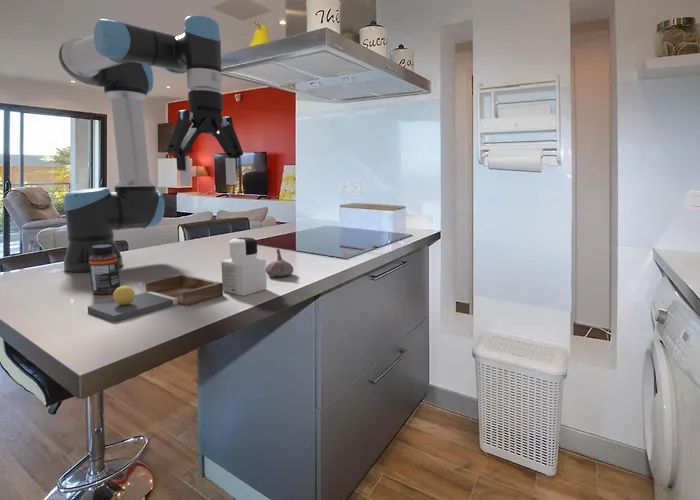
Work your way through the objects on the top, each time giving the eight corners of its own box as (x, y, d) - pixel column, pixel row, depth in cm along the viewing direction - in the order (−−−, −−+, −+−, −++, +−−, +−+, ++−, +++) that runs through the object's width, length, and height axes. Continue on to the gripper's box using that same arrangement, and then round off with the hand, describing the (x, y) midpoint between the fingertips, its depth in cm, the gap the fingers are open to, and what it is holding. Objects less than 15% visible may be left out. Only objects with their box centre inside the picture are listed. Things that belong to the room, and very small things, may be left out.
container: (246, 284, 110) (244, 235, 107) (267, 289, 105) (266, 238, 103) (221, 291, 103) (219, 238, 101) (243, 296, 99) (241, 242, 97)
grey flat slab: (88, 312, 87) (87, 306, 87) (151, 296, 99) (150, 291, 98) (114, 321, 82) (113, 315, 82) (177, 303, 93) (177, 298, 93)
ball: (110, 305, 88) (108, 286, 87) (128, 300, 91) (127, 282, 90) (120, 309, 86) (118, 290, 85) (139, 304, 89) (137, 285, 88)
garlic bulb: (264, 279, 115) (263, 250, 114) (267, 273, 123) (267, 246, 121) (292, 279, 116) (292, 250, 114) (294, 273, 123) (293, 246, 122)
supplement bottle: (99, 288, 104) (95, 243, 102) (124, 288, 105) (120, 243, 103) (87, 295, 99) (82, 247, 97) (113, 295, 99) (109, 247, 97)
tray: (146, 294, 100) (145, 282, 99) (183, 285, 108) (182, 274, 107) (186, 306, 92) (185, 292, 91) (222, 295, 100) (222, 283, 99)
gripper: (168, 79, 85) (174, 186, 89) (255, 98, 106) (258, 184, 110) (145, 83, 89) (152, 185, 92) (234, 101, 110) (237, 183, 113)
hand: (209, 185), depth 101 cm, fingers open, 13 cm apart
